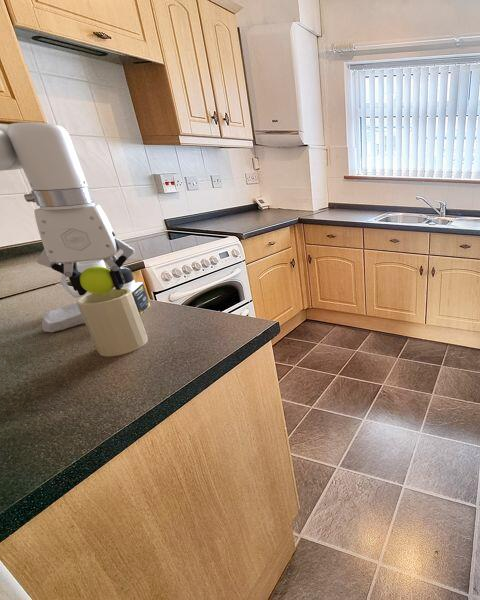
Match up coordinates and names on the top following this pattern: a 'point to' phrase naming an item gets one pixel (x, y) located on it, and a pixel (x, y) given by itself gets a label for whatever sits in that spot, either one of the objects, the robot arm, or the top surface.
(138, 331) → the beige octagonal cup
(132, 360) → the top surface
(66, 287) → the mug
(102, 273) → the ball
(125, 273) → the medicine bottle
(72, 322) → the soap bar
